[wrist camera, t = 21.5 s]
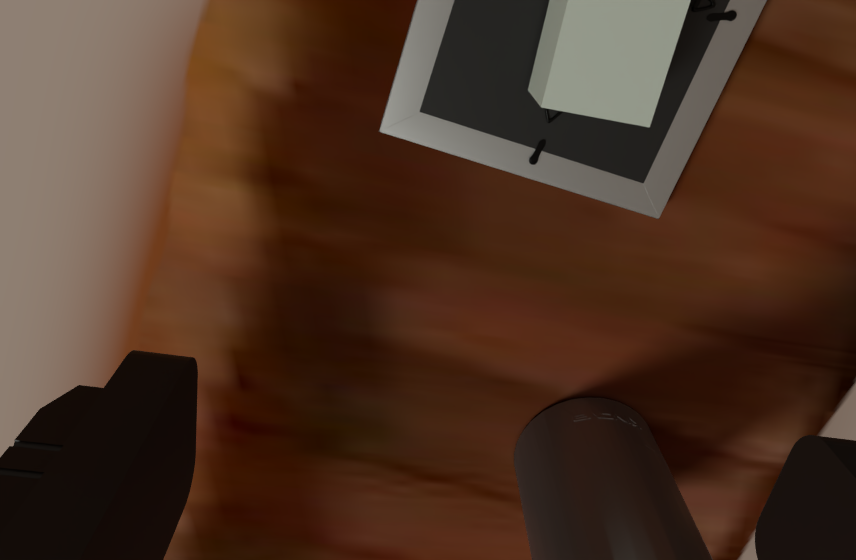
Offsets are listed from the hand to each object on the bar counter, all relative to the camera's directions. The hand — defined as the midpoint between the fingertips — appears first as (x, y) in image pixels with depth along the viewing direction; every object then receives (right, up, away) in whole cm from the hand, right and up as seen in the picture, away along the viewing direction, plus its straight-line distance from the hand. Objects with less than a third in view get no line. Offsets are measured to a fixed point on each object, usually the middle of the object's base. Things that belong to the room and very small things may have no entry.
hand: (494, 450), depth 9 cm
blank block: (+7, +16, +23) cm, 29 cm away
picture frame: (+7, +18, +25) cm, 31 cm away
